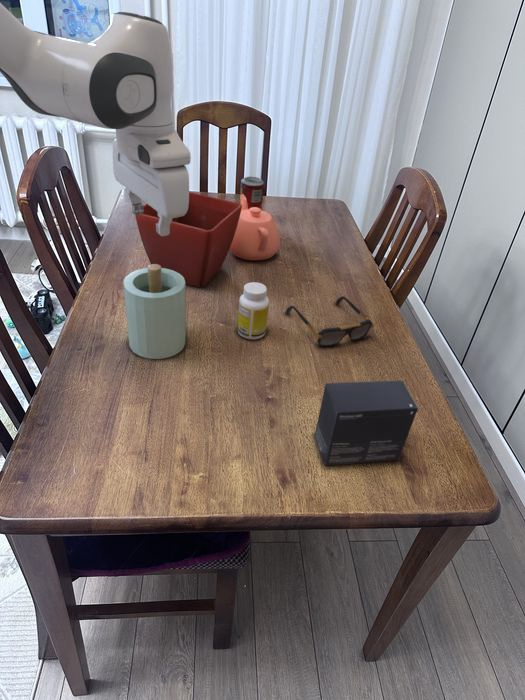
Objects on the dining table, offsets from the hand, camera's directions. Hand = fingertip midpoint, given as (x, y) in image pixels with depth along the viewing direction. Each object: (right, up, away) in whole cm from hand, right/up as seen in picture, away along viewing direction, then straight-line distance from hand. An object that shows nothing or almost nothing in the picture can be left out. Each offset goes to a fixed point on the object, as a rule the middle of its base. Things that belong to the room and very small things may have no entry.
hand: (149, 223), depth 84 cm
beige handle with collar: (-2, -19, +14) cm, 24 cm away
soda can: (+15, +20, +70) cm, 75 cm away
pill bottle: (+17, -18, +21) cm, 33 cm away
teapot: (+16, +6, +52) cm, 55 cm away
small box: (+35, -38, -3) cm, 52 cm away
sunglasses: (+34, -17, +25) cm, 46 cm away
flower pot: (+1, -2, +39) cm, 39 cm away
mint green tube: (-2, -20, +15) cm, 25 cm away
